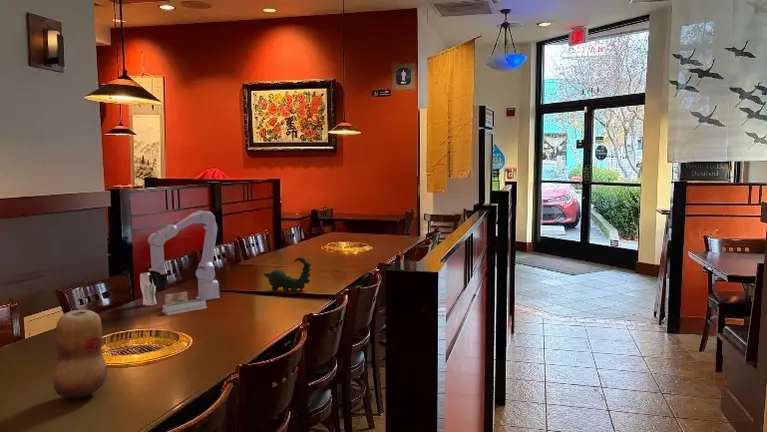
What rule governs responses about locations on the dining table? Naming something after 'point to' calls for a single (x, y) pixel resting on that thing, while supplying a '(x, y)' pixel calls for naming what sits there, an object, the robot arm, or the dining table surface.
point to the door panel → (176, 297)
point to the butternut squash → (79, 354)
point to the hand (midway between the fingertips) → (159, 287)
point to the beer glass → (147, 289)
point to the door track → (184, 306)
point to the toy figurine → (289, 278)
